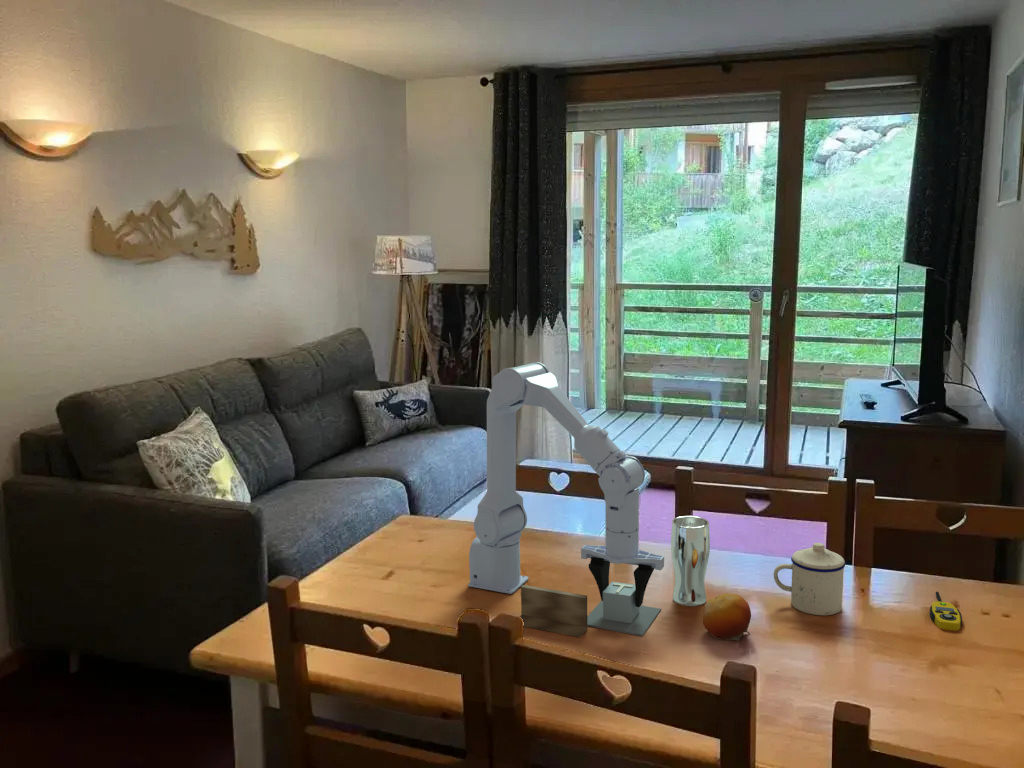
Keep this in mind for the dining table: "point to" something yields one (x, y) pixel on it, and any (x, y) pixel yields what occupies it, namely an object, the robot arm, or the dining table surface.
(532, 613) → the screen
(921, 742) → the dining table surface
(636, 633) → the mat
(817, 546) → the teacup with lid
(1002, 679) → the dining table surface
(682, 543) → the beer glass
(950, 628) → the yellow walkie talkie
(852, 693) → the dining table surface
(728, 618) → the fruit
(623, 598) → the letter block
